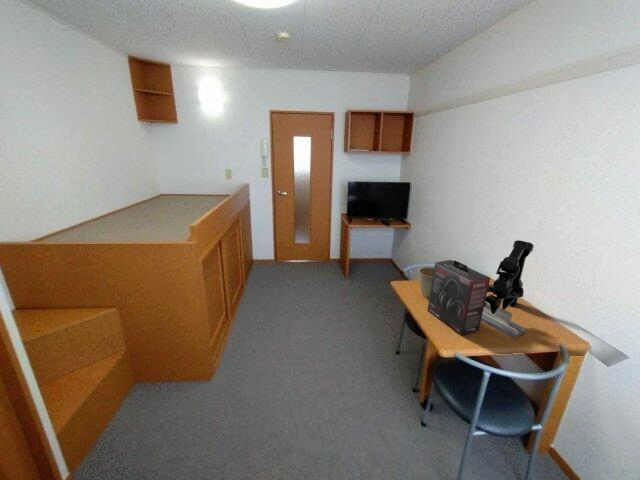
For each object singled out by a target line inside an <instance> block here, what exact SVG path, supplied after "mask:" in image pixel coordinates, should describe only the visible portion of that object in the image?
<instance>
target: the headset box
mask: <svg viewBox="0 0 640 480" xmlns="http://www.w3.org/2000/svg"><path fill="white" fill-rule="evenodd" d="M433 268H434V273H433V280H432V286H431V292H430V298H428V299H429V300H428V306H427V312H429V313H430V314H432V315H433V316H435V317H436V318H437V319H438V320H439V321H441V322H442V323H444V324H445V325H446V326H448V327H450V328H451V329H452V330H453V331H454V332H456V333H458V335H460V336H464V335H468V334H473V333H476V332H479V331H480V326H481V322H482V321H481V318H482V313H483V309H484V304H485V302H486V301H485V300H486V295H487V294H488V292H487V291H488V287H489V285H490V283H491V282H490V281H491V277H490V276H488V275H486V274H483V273H482V272H479V271H477V270H475V269H472V268H471V267H468V265H466V264H464V263H462V262H459V261H458V260H452V259H449V260H441V261H436V262H435V263H434V267H433Z"/></svg>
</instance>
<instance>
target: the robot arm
mask: <svg viewBox="0 0 640 480" xmlns="http://www.w3.org/2000/svg"><path fill="white" fill-rule="evenodd" d="M534 247H535V246H534V243H532V242H529V241H524V240H520V239H519V240H514V242H513V245H512V250H511V252H510V253H509V255H508V256H506V257H504V258H503V259H502V261H500V263H499V265H498V267H497V270H496V272H495V274H496V275H498V277H497V278H496V279H495V280H494V281H493V283H492V284H489V287H488V291H487V293H492V294H490V295H489V294H488V295H489V296H487V297H486V300H485V302H488V303H489V304H490V307H491V313H492V314H494V313H495V312H496V311H497V309H498V308H499V307H500V308H502V309H504V310H507V308H508V307H509V306H510V307H513V308H514V307H516V306H518V305H519V306H520V303H518V301H519V298H523V297H524V294H525V293H524V292H525V291H524V287H523V285H524V283H523V282H522V275H523V271H524V267H525V262H526V259H527V257H529V255H530V254H531V253H532V252H533V251H534ZM501 304H502V305H501Z"/></svg>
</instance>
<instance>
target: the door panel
mask: <svg viewBox="0 0 640 480" xmlns="http://www.w3.org/2000/svg"><path fill="white" fill-rule="evenodd" d="M484 313H485V314H487V315H489V316H491V317H493V318H495V319H497V320H499V321H501V322H503V323H505V324H507V325H508V326H509V325H510V322H511V321H512V317H513V312H510V311H508V310H507V309H505V310H504V309H502V307H501V306H500V307H499V308H498V309H497V311H496V312H495V313H494V314H492V313H491V307H490V304H489V303H487V304H486V306H485V311H484Z"/></svg>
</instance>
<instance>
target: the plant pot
mask: <svg viewBox="0 0 640 480" xmlns="http://www.w3.org/2000/svg"><path fill="white" fill-rule="evenodd" d="M433 273H434V267H433V266H432V267H431V266H424V267H420V268H419V269H418V280H419V286H420V291H421V295H422V296H423V297H425V298H428V299H429V298H430V292H431V286H432V280H433Z"/></svg>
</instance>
